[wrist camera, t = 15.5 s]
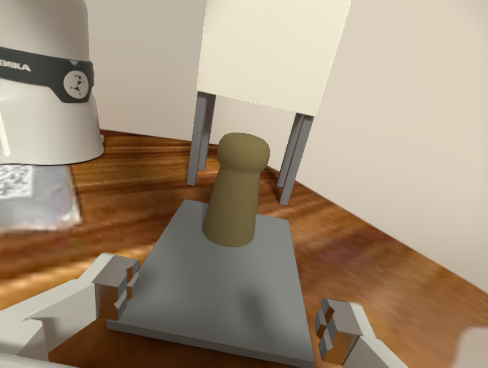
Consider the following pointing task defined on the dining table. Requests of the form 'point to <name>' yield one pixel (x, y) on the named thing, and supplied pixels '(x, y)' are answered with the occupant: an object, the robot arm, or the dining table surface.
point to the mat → (222, 292)
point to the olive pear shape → (236, 190)
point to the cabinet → (266, 67)
